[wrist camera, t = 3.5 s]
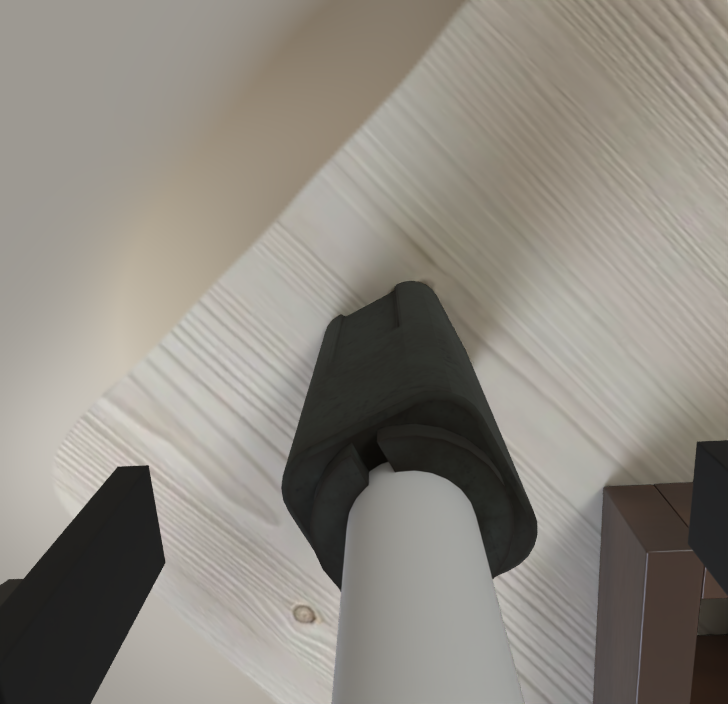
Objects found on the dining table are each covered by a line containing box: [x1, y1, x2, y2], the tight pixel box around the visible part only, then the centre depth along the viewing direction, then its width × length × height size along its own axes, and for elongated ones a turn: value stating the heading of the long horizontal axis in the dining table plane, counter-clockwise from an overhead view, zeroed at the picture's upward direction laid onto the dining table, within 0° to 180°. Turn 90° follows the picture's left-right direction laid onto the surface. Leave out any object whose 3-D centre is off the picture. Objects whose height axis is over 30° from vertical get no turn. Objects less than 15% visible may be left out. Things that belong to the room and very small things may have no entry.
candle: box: [281, 281, 537, 704], centre depth 16 cm, size 5×5×25 cm
